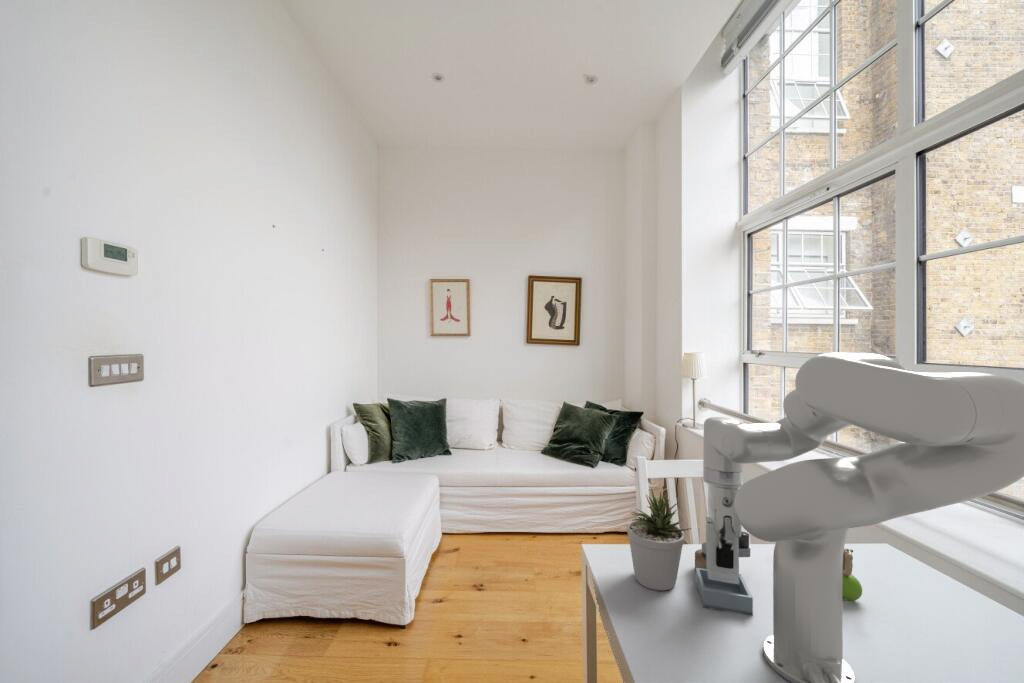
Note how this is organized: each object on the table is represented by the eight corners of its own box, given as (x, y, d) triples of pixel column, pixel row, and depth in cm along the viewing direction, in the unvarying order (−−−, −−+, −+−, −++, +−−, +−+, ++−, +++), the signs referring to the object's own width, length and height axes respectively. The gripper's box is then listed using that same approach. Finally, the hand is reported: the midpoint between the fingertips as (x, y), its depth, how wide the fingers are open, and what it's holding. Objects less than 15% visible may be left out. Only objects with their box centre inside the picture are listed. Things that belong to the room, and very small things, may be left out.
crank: (708, 561, 96) (708, 539, 96) (697, 550, 101) (697, 530, 101) (755, 559, 96) (755, 538, 97) (741, 549, 101) (741, 529, 102)
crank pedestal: (736, 585, 93) (736, 568, 93) (697, 580, 95) (697, 562, 96) (727, 566, 102) (727, 550, 102) (692, 561, 104) (692, 545, 104)
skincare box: (736, 575, 90) (736, 519, 90) (739, 586, 86) (740, 528, 86) (704, 569, 92) (705, 515, 92) (707, 580, 88) (707, 523, 88)
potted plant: (699, 597, 89) (699, 504, 89) (635, 596, 89) (635, 502, 89) (677, 566, 101) (677, 484, 102) (620, 565, 102) (621, 483, 102)
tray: (752, 615, 83) (752, 597, 83) (702, 607, 85) (702, 590, 85) (740, 589, 92) (740, 573, 92) (695, 583, 94) (695, 567, 94)
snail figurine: (833, 604, 87) (833, 546, 87) (827, 588, 93) (827, 534, 93) (867, 612, 84) (866, 552, 85) (858, 595, 90) (858, 540, 90)
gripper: (753, 490, 80) (752, 585, 80) (732, 466, 96) (731, 545, 96) (710, 486, 82) (710, 579, 82) (697, 463, 98) (696, 540, 98)
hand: (721, 560), depth 89 cm, fingers closed on skincare box, 4 cm apart
